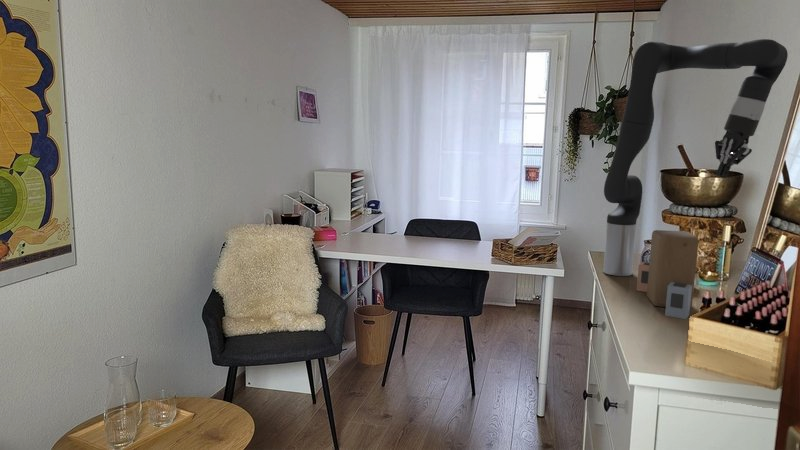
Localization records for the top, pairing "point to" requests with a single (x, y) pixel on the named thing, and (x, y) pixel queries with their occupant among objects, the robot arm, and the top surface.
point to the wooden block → (671, 263)
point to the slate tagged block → (678, 300)
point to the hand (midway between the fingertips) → (720, 176)
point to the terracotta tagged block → (643, 276)
